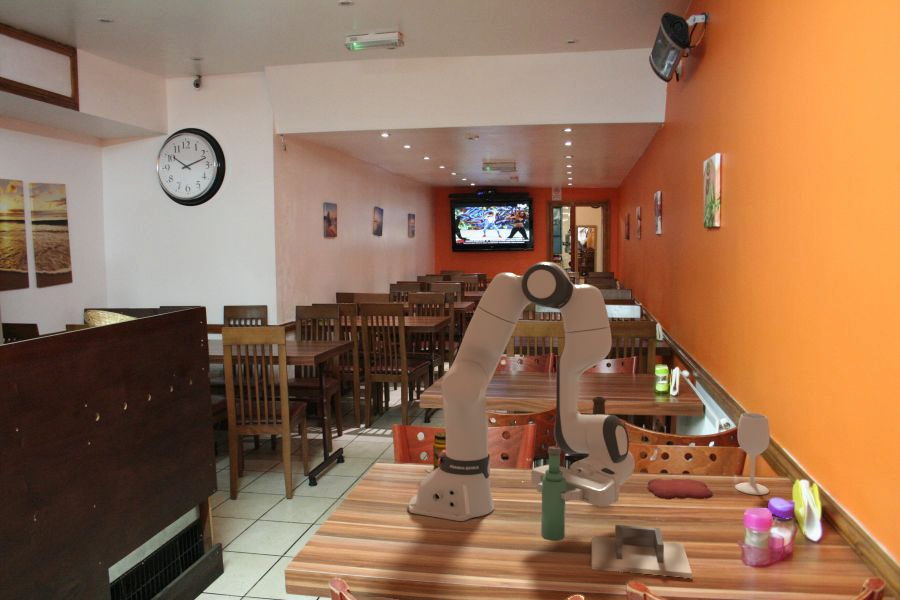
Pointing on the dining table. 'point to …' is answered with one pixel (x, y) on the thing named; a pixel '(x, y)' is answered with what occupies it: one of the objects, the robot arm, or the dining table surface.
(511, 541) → the dining table surface
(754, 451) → the wineglass
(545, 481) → the bottle
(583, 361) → the robot arm
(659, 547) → the bottle stand
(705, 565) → the dining table surface
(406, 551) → the dining table surface
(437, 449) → the condiment
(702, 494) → the patty
